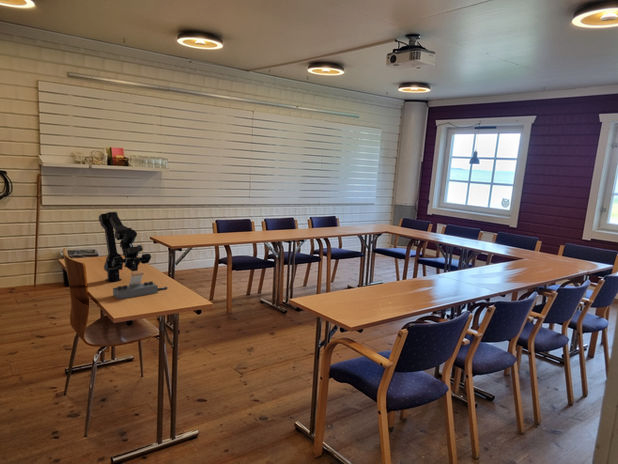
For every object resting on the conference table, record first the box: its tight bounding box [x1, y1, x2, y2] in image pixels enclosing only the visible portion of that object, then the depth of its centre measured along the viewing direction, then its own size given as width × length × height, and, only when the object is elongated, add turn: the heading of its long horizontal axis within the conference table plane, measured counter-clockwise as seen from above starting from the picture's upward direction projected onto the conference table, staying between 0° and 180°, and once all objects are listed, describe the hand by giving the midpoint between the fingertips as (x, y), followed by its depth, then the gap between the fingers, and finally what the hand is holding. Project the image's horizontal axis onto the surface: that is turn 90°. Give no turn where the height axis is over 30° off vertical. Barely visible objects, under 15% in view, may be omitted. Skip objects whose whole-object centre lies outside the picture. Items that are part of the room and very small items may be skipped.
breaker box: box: [112, 281, 168, 300], centre depth 226 cm, size 8×27×5 cm, turn 133°
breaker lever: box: [128, 269, 145, 287], centre depth 222 cm, size 2×5×9 cm
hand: (136, 273), depth 221 cm, fingers closed, pressing on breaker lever
